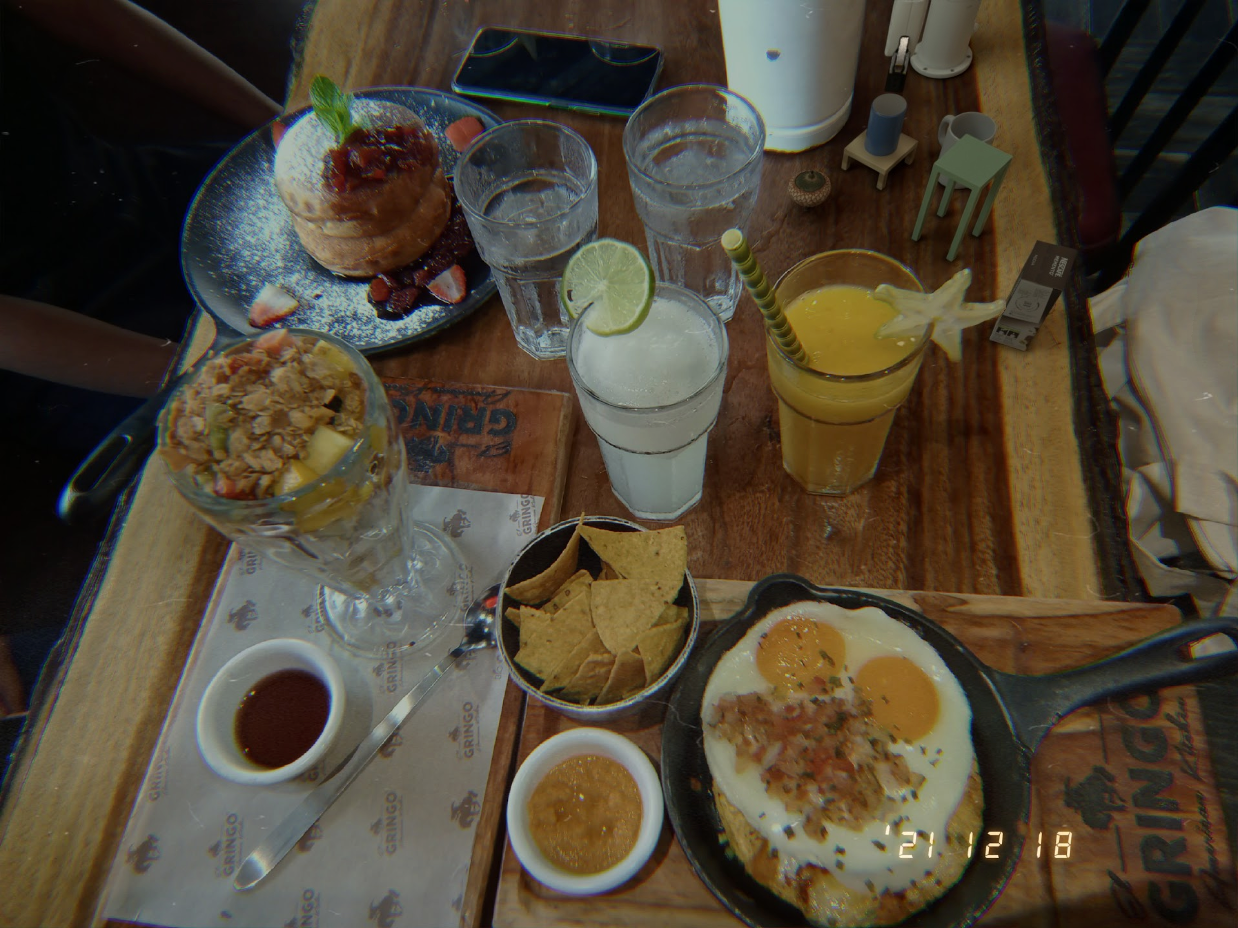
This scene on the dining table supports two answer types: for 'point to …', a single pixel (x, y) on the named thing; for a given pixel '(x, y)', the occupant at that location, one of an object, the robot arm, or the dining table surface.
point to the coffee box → (1034, 294)
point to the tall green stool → (965, 184)
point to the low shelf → (879, 162)
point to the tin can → (885, 124)
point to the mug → (964, 133)
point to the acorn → (809, 188)
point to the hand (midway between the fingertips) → (897, 72)
